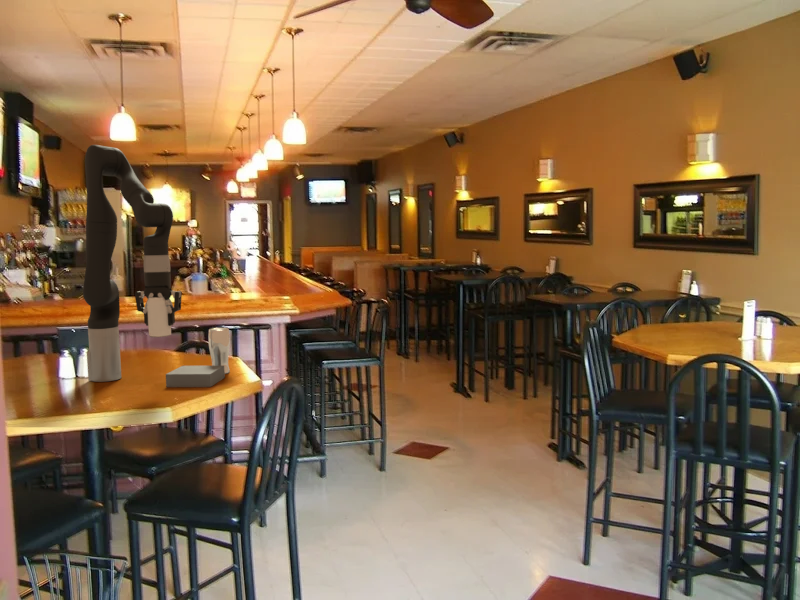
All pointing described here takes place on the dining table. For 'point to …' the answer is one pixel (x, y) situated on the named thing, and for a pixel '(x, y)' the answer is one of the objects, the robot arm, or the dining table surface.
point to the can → (158, 317)
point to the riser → (195, 376)
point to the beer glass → (219, 347)
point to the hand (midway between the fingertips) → (159, 325)
